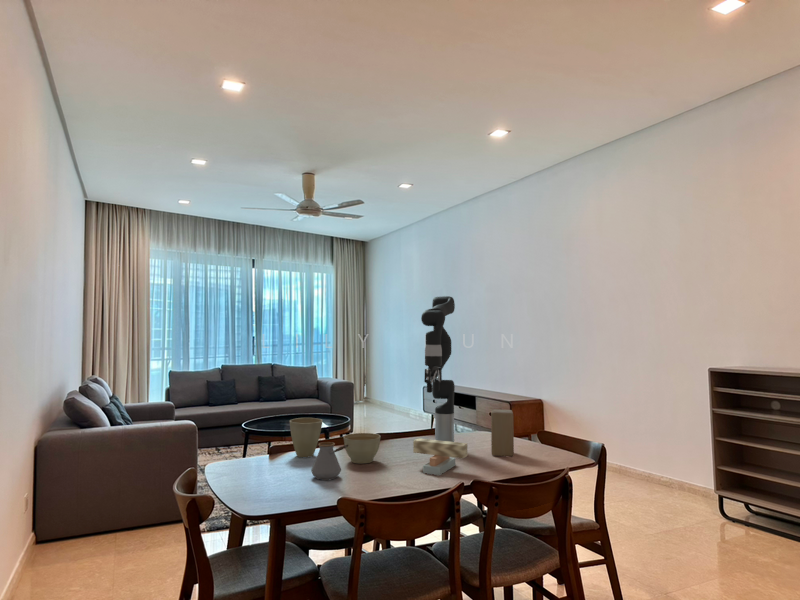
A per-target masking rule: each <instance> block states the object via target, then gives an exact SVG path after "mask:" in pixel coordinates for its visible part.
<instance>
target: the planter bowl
mask: <svg viewBox="0 0 800 600" xmlns="http://www.w3.org/2000/svg"><path fill="white" fill-rule="evenodd" d="M343 443H344V445H349V446H348V447H346V449H345V451H346V454H347V455H348V457H349V458H350V462H351V463H353V464H360V465H361V464H369V463H373V462H374V458H375V457H376V455H377V453H378V451H379V448H380V444H381V435H380V434H378V433H371V432H357V433H356V432H355V433H350V434H346V435H344V436H343ZM344 445H343V446H344ZM350 447H351V448H350ZM349 449H350V450H349Z"/></svg>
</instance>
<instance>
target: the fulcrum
mask: <svg viewBox="0 0 800 600" xmlns="http://www.w3.org/2000/svg"><path fill="white" fill-rule="evenodd" d="M455 466H456V458H455V457H446V456H438V455H432V456H431V457H429V462H427V463H425V464H423V466H422V467H423V468H422V470H423V473H422V474H425V473H427V475H432V474H434V475H433V476H441V475H443V474H444V473H446V472H447V471H449V470H451V469H452V468H454V467H455ZM442 473H443V474H442Z"/></svg>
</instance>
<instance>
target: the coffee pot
mask: <svg viewBox="0 0 800 600" xmlns="http://www.w3.org/2000/svg"><path fill="white" fill-rule="evenodd" d="M335 445H336V443H335V442H332V441H331V442H330V441H323V442H318V444H317V447H318V448H319V451H318V452H317V455H316V457H315V460H314V463H313V465H312V468H311V473H312V476H314V477H315V479H316V478H317V480H319V479H322V480H321V481H330V480H329V479H332V480H334V478H335V479H336V478H337V477H338V476H339V475H340V473H341V471H342V468H341V465H340V463H339V460H338V457H337V456H336V453H337V452H340V451H343V450H344V449H345V450H346V447H348V446H349V445H342V446H339V447H337V448H336V449H334V448H335V447H334V446H335ZM350 448H351V447H350ZM349 450H350V449H349Z"/></svg>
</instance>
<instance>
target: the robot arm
mask: <svg viewBox="0 0 800 600" xmlns="http://www.w3.org/2000/svg"><path fill="white" fill-rule="evenodd" d="M431 307H432V308H428V309H425V310H424V311H423V312H422V314H421V323H422V324H423V326H426V327H433V329H432V330H431V331H426V333H425V348H424V365H425V366H426V367H427V368H424V381H423V382H424V383H425V384H426V392H427V393H428V394H429V393H430V394H431V393H432V397H433V399H437V400H439V399H440V400H447V401H446V402H445V403H443V404H440V405H436V406H435V409H434V420H435V421H434V430H435V431H434V433H435V434H434V440H439V441H449V442H455V390H456V389H455V387H456V386H455V382H454V380H452V379H443V376H442V372H443V371H442V370H443V369H444V366H445V365H446V364H447V362H448V360H449V359H450V357H451V355H452V339H451V336H450V335H449V332H448V331H447V330H446V329H445V327H444V325H445V321H446V316H448V315H451V314H453V313H454V312H455V309H456V308H455V307H456V304H455V299H454V297H453V296H447V295H444V296H434V297H433V299H432V305H431Z"/></svg>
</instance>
